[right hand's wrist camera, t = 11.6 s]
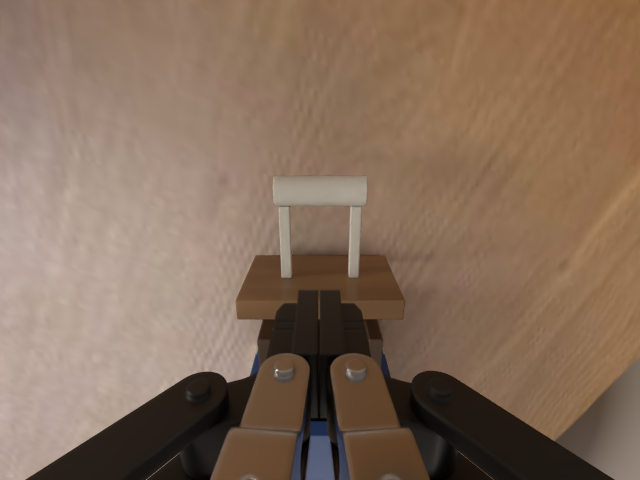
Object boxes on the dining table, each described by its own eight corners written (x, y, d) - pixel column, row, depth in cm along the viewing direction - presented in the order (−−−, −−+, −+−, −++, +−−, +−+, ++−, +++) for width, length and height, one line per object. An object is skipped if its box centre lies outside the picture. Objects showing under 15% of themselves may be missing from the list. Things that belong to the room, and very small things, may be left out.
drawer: (249, 166, 21) (223, 186, 16) (391, 166, 21) (416, 186, 16) (269, 449, 30) (258, 527, 24) (370, 449, 30) (382, 527, 24)
